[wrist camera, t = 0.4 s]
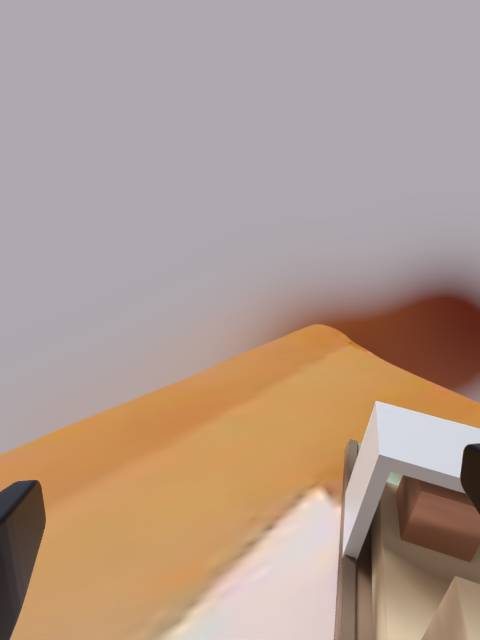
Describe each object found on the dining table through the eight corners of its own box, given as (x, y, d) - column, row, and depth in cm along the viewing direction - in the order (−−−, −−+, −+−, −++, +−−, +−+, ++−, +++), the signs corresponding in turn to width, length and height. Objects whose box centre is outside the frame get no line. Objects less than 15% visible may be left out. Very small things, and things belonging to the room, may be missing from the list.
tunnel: (505, 613, 22) (570, 510, 19) (342, 557, 24) (378, 454, 21) (480, 535, 27) (529, 442, 24) (345, 492, 29) (375, 400, 25)
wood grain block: (552, 894, 13) (725, 755, 10) (377, 813, 14) (474, 661, 11) (458, 532, 26) (516, 415, 23) (370, 504, 27) (412, 388, 24)
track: (644, 1124, 11) (672, 1116, 10) (316, 947, 13) (326, 933, 12) (456, 484, 32) (462, 471, 32) (344, 451, 34) (348, 438, 34)
